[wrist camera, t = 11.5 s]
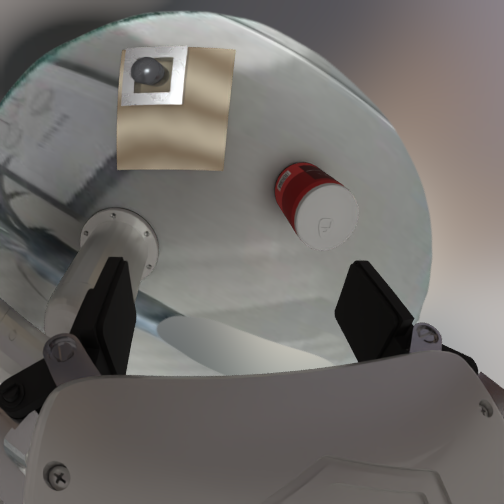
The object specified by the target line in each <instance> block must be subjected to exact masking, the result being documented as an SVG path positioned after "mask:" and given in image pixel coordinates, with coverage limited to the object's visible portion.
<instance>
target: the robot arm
mask: <svg viewBox="0 0 504 504" xmlns="http://www.w3.org/2000/svg"><path fill="white" fill-rule="evenodd" d="M114 213H115V214H116V215H115V214H114ZM146 231H148V232H146ZM80 248H81V249H80V250H79V252H78V253H77V255H76V257H75V258H74V260H73V261H72V263H71V264H70V266H69V268H68V269H67V271H66V272H65V274H64V276H63V277H62V279H61V281H60V282H59V284H58V286H57V287H56V289H55V291H54V293H53V294H52V296H51V298H50V300H49V302H48V305H47V308H46V312H45V320H44V328H45V334H44V333H42V332H41V331H40V330H39V329H37V328H36V327H35V326H33V325H32V324H31V323H30V322H28V321H27V320H26V319H25V318H23V317H22V316H21V315H20V314H19V313H17V312H16V311H15V310H14V309H13V308H12V307H11V306H9V305H8V304H7V303H6V302H5V301H4V300H2V299H1V298H0V504H504V389H503V388H501V387H500V386H499V385H498V384H496V383H495V382H494V381H493V380H491V379H490V378H488V377H487V376H486V375H485V374H483V373H482V372H480V373H479V374H478V368H477V365H476V363H475V362H474V360H473V359H472V358H471V357H468V356H466V355H464V354H462V353H460V352H458V351H455V350H453V349H451V348H449V347H447V346H445V345H443V344H442V338H441V335H440V333H439V331H438V330H437V329H436V328H434V327H433V326H431V325H430V324H427V323H417V324H415V325H414V326H413V325H412V322H413V320H414V317H413V316H412V315H411V313H410V312H409V311H408V310H407V308H406V307H405V306H404V304H403V303H402V302H401V301H400V299H399V298H398V297H397V295H396V294H395V293H394V292H393V290H392V289H391V288H390V287H389V286H388V284H387V283H386V282H385V281H384V279H383V278H382V277H381V276H380V275H379V273H378V272H377V271H376V270H375V269H374V267H373V266H372V265H371V264H370V263H369V262H368V261H355V262H354V263H353V264H351V265H350V268H349V271H348V274H347V277H346V280H345V283H344V286H343V289H342V292H341V295H340V297H339V300H338V303H337V306H336V309H335V318H336V320H337V322H338V324H339V326H340V327H341V329H342V331H343V333H344V335H345V337H346V339H347V341H348V343H349V345H350V347H351V349H352V351H353V353H354V355H355V357H356V359H357V360H358V363H352V364H346V365H339V366H332V367H325V368H317V369H309V370H301V371H290V372H279V373H267V374H253V375H232V376H145V375H126V370H127V364H128V359H129V353H130V348H131V343H132V338H133V333H134V328H135V323H136V309H135V300H136V296H137V293H138V289H139V285H140V281H141V280H143V279H145V278H146V277H147V276H148V275H149V274H150V273H151V272H152V271H153V269H154V267H155V265H156V263H157V259H158V254H159V245H158V241H157V237H156V235H155V233H154V231H153V229H152V228H151V226H150V225H149V224H148V223H147V222H146V221H145V220H144V219H143V218H142V217H140V216H139V215H137V214H136V213H134V212H131V211H129V210H126V209H122V208H109V209H104V210H102V211H99V212H97V213H96V214H94V215H93V216H92V217H91V218H90V219H89V220H88V221H87V223H86V224H85V225H84V227H83V229H82V232H81V236H80ZM149 264H150V265H149Z"/></svg>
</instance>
